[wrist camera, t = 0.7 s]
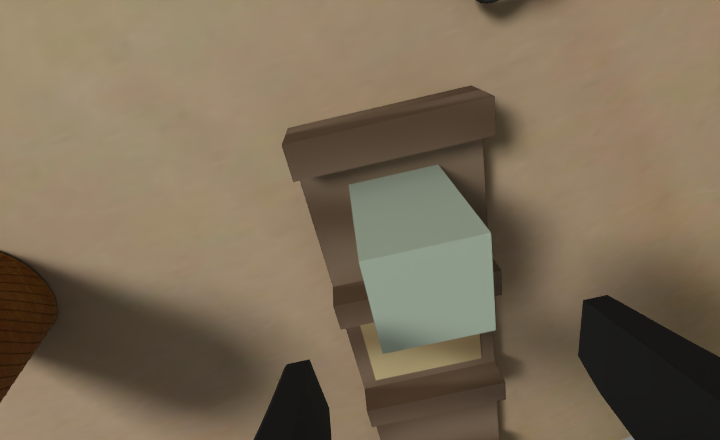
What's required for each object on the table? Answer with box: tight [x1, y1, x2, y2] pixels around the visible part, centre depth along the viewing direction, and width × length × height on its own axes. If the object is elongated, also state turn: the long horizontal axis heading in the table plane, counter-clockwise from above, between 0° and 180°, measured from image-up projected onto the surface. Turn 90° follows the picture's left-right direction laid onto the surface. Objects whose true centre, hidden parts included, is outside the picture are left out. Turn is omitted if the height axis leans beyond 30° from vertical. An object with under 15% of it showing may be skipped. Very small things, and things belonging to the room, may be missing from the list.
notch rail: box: [282, 86, 506, 440], centre depth 21 cm, size 26×8×2 cm, turn 12°
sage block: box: [349, 164, 496, 354], centre depth 15 cm, size 4×4×6 cm
